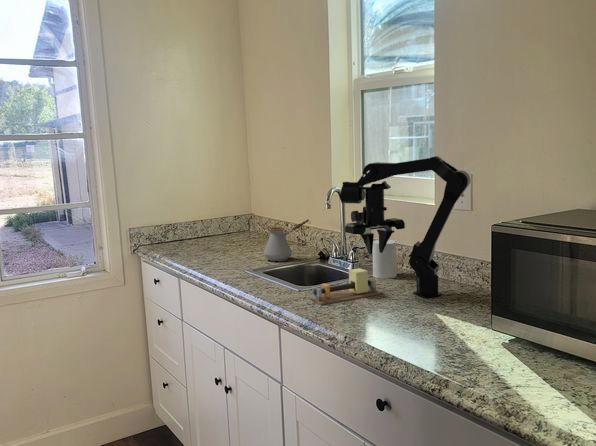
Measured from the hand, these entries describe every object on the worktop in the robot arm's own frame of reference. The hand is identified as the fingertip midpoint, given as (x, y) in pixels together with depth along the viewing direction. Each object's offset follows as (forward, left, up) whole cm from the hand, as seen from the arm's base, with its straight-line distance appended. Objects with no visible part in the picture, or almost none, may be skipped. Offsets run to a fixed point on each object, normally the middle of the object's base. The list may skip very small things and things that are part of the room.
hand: (375, 253), depth 178 cm
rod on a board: (0, +11, -12) cm, 17 cm away
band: (0, +18, -11) cm, 21 cm away
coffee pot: (+62, +1, -12) cm, 63 cm away
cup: (+15, -14, -12) cm, 24 cm away
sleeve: (0, +6, -12) cm, 14 cm away
